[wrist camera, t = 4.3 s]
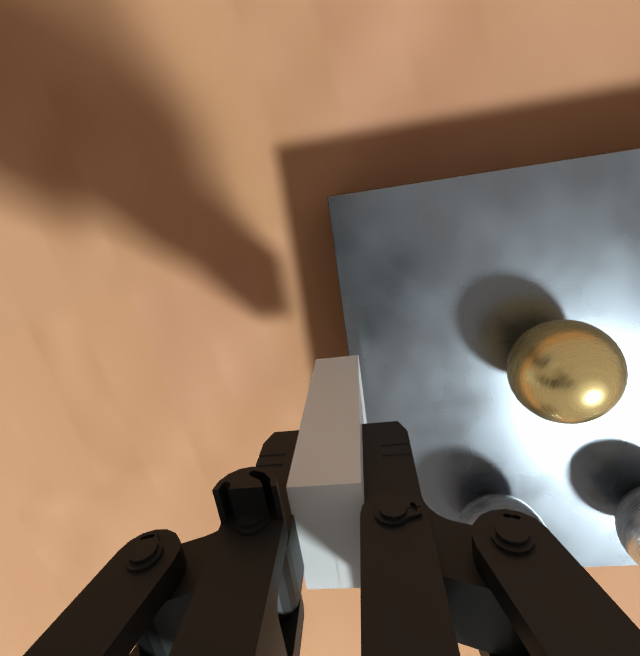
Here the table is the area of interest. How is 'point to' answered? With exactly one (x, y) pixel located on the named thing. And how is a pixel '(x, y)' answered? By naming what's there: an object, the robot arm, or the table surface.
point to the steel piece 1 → (494, 507)
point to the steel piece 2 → (629, 523)
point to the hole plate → (498, 331)
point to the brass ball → (567, 371)
